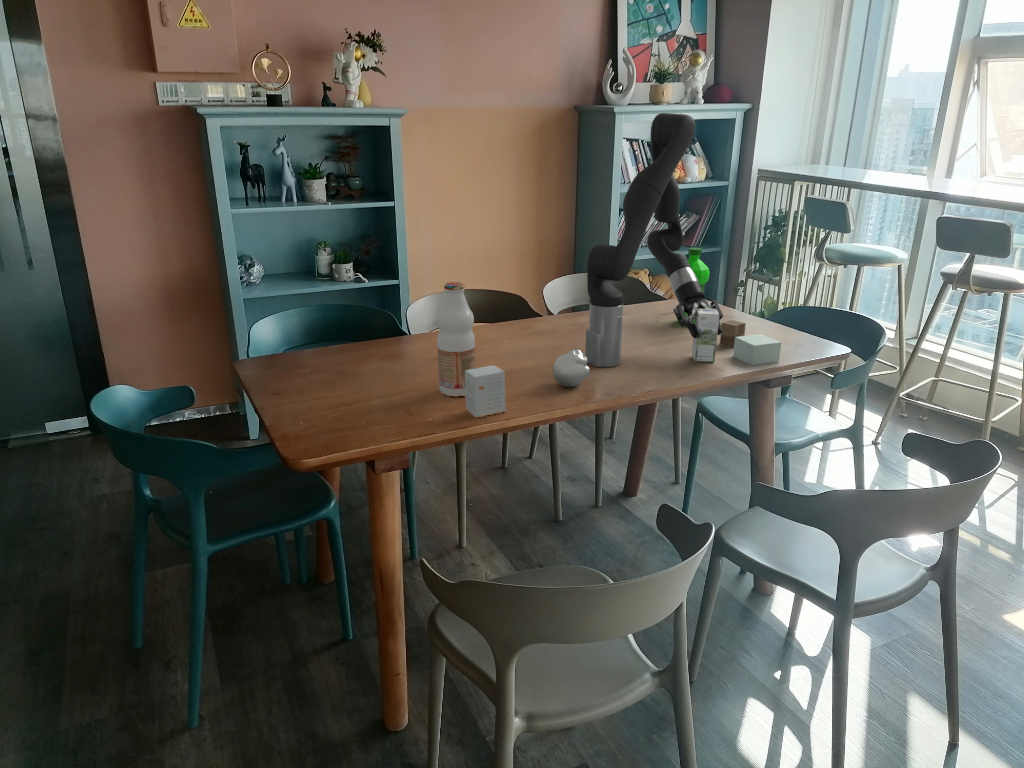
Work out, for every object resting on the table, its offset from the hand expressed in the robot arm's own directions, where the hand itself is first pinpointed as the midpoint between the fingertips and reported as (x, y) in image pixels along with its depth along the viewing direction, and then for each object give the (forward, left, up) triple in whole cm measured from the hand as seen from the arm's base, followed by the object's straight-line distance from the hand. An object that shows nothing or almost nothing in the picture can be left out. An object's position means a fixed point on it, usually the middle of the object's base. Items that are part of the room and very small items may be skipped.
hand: (708, 335), depth 211 cm
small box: (-72, -9, -8) cm, 73 cm away
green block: (+14, -5, -8) cm, 17 cm away
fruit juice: (-73, +7, -8) cm, 74 cm away
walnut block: (+17, +9, -8) cm, 21 cm away
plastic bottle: (+21, +35, -8) cm, 42 cm away
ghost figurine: (-45, -2, -8) cm, 46 cm away
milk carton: (0, +1, -8) cm, 8 cm away
